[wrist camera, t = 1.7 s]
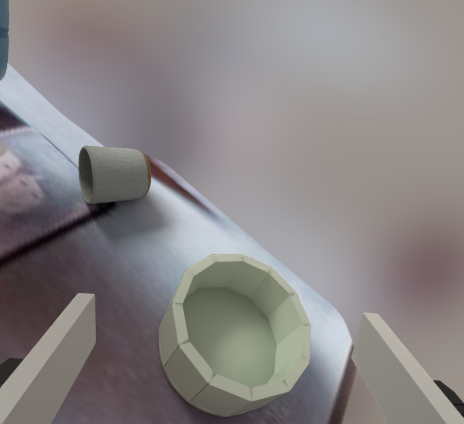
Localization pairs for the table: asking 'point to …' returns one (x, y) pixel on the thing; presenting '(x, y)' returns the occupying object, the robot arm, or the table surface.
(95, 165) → the ceramic mug
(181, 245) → the table surface
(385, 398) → the robot arm
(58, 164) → the table surface
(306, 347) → the sage bowl
